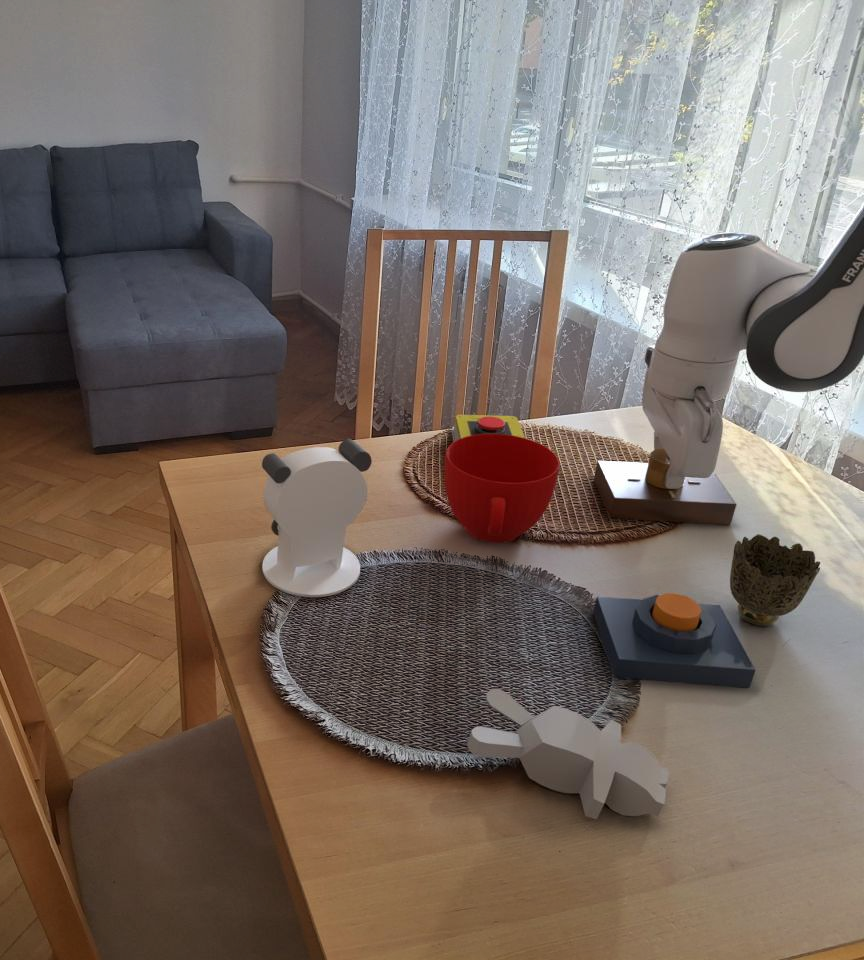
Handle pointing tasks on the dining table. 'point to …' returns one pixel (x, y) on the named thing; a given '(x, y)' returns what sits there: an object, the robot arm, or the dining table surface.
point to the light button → (676, 612)
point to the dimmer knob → (658, 468)
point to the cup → (770, 578)
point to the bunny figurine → (576, 758)
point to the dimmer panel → (661, 496)
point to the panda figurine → (314, 517)
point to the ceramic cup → (499, 484)
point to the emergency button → (485, 426)
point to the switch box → (671, 645)
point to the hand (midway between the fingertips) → (665, 474)
